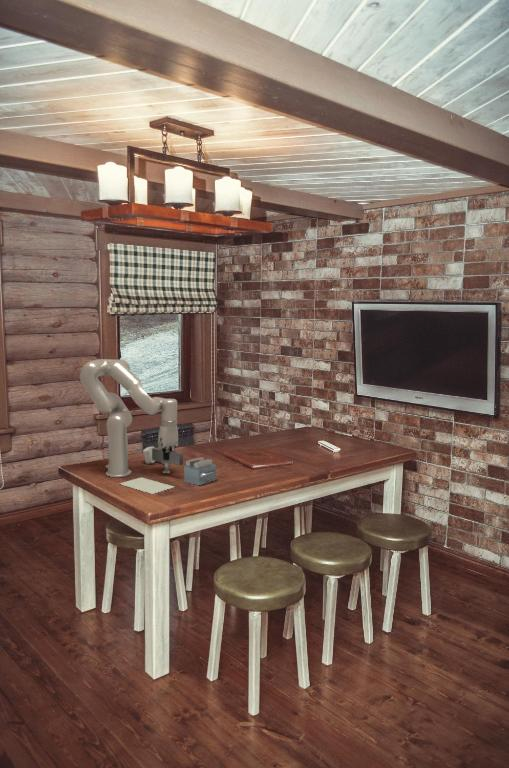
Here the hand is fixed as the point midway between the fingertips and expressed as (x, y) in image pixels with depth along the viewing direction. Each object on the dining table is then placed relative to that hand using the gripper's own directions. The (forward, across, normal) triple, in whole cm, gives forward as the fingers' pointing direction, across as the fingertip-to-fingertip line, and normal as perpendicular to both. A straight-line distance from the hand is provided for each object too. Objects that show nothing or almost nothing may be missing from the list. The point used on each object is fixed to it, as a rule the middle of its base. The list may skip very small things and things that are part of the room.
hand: (168, 459), depth 297 cm
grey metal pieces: (+8, -4, +9) cm, 13 cm away
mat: (+9, +18, +5) cm, 21 cm away
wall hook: (+9, -13, -23) cm, 28 cm away
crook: (+2, -3, 0) cm, 4 cm away
